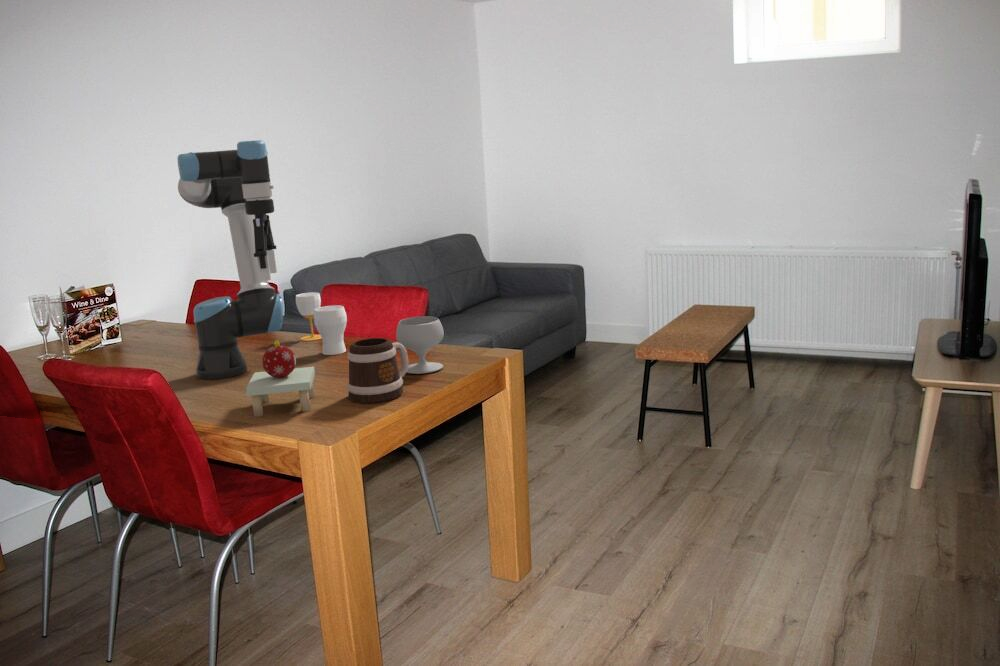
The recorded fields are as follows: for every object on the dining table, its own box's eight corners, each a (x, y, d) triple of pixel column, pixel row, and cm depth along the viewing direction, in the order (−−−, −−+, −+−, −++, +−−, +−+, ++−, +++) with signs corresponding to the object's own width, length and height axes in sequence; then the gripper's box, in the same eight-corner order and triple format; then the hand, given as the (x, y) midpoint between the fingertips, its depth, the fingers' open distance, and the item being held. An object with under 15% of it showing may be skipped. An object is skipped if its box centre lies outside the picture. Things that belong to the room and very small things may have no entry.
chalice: (391, 375, 249) (386, 325, 246) (413, 362, 262) (408, 315, 259) (434, 376, 244) (429, 326, 241) (454, 363, 257) (450, 315, 253)
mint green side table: (249, 418, 218) (245, 388, 216) (258, 400, 233) (254, 372, 231) (313, 411, 219) (309, 382, 218) (317, 394, 235) (314, 366, 233)
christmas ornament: (270, 373, 229) (265, 337, 227) (301, 371, 228) (296, 335, 226) (260, 382, 220) (255, 345, 218) (293, 380, 220) (288, 343, 218)
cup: (333, 357, 275) (327, 312, 272) (311, 354, 282) (305, 310, 278) (357, 350, 283) (352, 306, 280) (335, 347, 290) (330, 304, 287)
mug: (373, 407, 219) (367, 351, 216) (336, 399, 229) (330, 345, 226) (428, 387, 234) (423, 334, 230) (391, 380, 243) (386, 329, 240)
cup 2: (322, 340, 302) (317, 295, 299) (297, 341, 302) (291, 297, 299) (328, 334, 311) (322, 291, 307) (303, 336, 311) (298, 293, 308)
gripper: (266, 200, 218) (277, 282, 223) (278, 195, 242) (287, 269, 247) (236, 203, 217) (248, 284, 222) (251, 197, 241) (261, 271, 246)
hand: (268, 276), depth 234 cm, fingers open, 13 cm apart
